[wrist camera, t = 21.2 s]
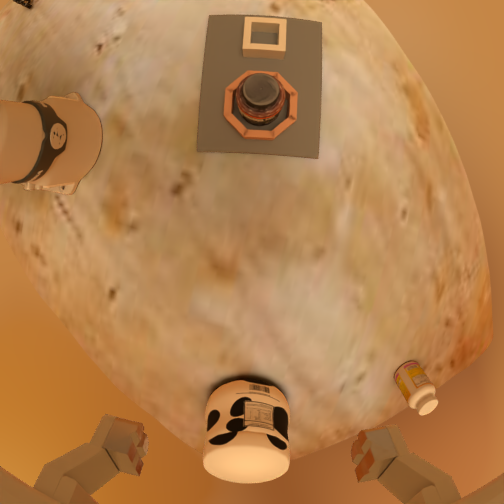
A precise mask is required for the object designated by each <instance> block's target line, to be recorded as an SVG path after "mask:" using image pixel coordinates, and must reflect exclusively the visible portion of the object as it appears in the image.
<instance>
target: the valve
mask: <svg viewBox="0 0 504 504" xmlns="http://www.w3.org/2000/svg"><path fill="white" fill-rule="evenodd" d="M13 1H14V2H16V3H18V4H20V5H22V6H25V7H26V8H29V9H30V8H31V7H32V5H29V3H30V1H31V0H13ZM27 1H28V3H27Z"/></svg>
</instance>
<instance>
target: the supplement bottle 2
mask: <svg viewBox="0 0 504 504" xmlns="http://www.w3.org/2000/svg"><path fill="white" fill-rule="evenodd" d="M394 378H395V381H396V383H397V385H398V387H399V388H400V390H401V392H402V394H403V396H404V397H405V399H406V401H407V403H408V404H409V406H410V407H411V408H414V409H417V411H418V413H419V414H420V415H426V414H428V413H430V412H431V411H432V410H433V409H435V407H436V406H437V404H438V400H437V398H436V397H435V396H434V395H435V387H434V385H433V384H432V383H431V381H430V380H429V378H428V377H427V375H426V374H425V373H424V371H423V370H422V368H421V367H420V366H419V364H418V363H417V362H414V361H410V362H407V363H405V364H403V365H402V366H401V367H400V368H399V369H398V370H397V371H396V373H395V377H394Z"/></svg>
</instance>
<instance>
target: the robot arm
mask: <svg viewBox="0 0 504 504" xmlns="http://www.w3.org/2000/svg"><path fill="white" fill-rule="evenodd" d="M101 143H102V128H101V123H100V120H99V118H98V116H97V114H96V113H95V111H94V110H93V109H92V108H90V107H89V106H87V105H86V104H85V103H84V102H83V101H82V98H81V97H80V95H79V94H78V93H76V92H72V93H70V94H68V95H66V96H64V97H56V96H49V97H48V98H47V99H45V100H43V101H41V102H40V101H24V102H21V103H20V102H13V101H6V100H0V184H4V183H8V182H12V183H20V184H22V185H24V190H34V189H36V190H41V189H43V190H47V191H52V192H56V193H61V194H66V195H71V194H73V193H74V191H75V190H76V188H77V185H78V183H79V181H80V180H81V179H82V178H83V177H84V176H85V175H86V174H87V173H88V172H89V171H90V170H91V168H92V167H93V165H94V164H95V162H96V160H97V157H98V155H99V152H100V148H101ZM64 186H65V189H64ZM143 430H144V426H143V424H142V423H139V422H135V421H130V420H126V419H122V418H119V417H115V416H111V415H108V414H105V415H104V416H103V417H102V419H101V421H100V423H99V425H98V427H97V429H96V431H95V433H94V436H93V437H92V439H91V441H90V443H85V444H83V445H81V446H79V447H77V448H76V449H74V450H72V451H70V452H68V453H67V454H65V455H63V456H61V457H59V458H57V459H55V460H53V461H51V462H49V463H47V464H45V465H44V467H43V469H42V471H41V473H40V475H39V477H38V479H37V481H36V483H35V485H34V487H31V486H29V485H27V484H26V483H24V482H23V481H21V480H20V479H18V478H17V477H15V476H14V475H12V474H11V473H9V472H8V471H6V470H5V469H3V468H2V467H1V466H0V504H98V502H96V501H95V500H94V499H93V498H92V497H91V496H90V495H91V494H93V493H94V492H95V491H97V490H98V489H99V488H100V487H102V486H103V485H104V484H106V483H107V482H108V481H110V480H111V479H112V478H113V477H115V476H116V475H117V474H118V473H119V471H120V472H124V473H128V474H132V475H136V476H140V473H141V470H142V467H143V462H142V460H141V458H142V457H144V456H145V455H146V454H147V451H148V443H149V442H148V437H147V434H145V433H144V432H143ZM357 436H358V439H357V440H356V441H354V443H353V445H352V448H351V457H352V461H353V462H354V463H355V464H356V465H357V467H356V469H355V472H356V476H357V479H358V483H359V482H365V481H370V480H375V479H378V481H379V482H380V483H381V484H383V486H384V487H385V488H387V489H388V490H389V491H390V492H391V493H392V494H393V495H394V496H395V497H397V498H398V499H399V500H400V501H401V502H402V503H404V504H504V473H503V474H501V475H500V476H498V477H497V478H495V479H494V480H492V481H491V482H489V483H487V484H486V485H484V486H483V487H481V488H479V489H477V490H476V491H474V492H472V493H471V494H469V495H467V496H465V497H463V498H461V497H460V494H459V492H458V490H457V488H456V486H455V483H454V481H453V479H452V477H451V476H450V475H448V474H447V473H445V472H443V471H441V470H440V469H438V468H437V467H435V466H433V465H432V464H430V463H429V462H427V461H425V460H424V459H422V458H421V457H419V456H418V455H416V454H415V453H410V452H409V450H408V448H407V445H406V443H405V441H404V438H403V436H402V434H401V432H400V430H399V427H398V426H397V425H396V424H394V425H389V426H382V427H377V428H372V429H366V430H361V431H360V432H359V433H358V435H357Z"/></svg>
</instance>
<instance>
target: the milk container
mask: <svg viewBox="0 0 504 504" xmlns="http://www.w3.org/2000/svg"><path fill="white" fill-rule="evenodd" d="M205 420H206V425H207V434H206V438H205V444H204V450H203V463H204V467H205V469H206V470H207V471H208V472H209V473H210V474H212V475H214V476H216V477H218V478H220V479H223V480H227V481H230V482H238V483H260V482H265V481H269V480H273V479H275V478H277V477H280V476H282V475H283V474H284V473H285V472H286V471H287V470H288V467H289V463H290V451H289V441H288V434H287V430H288V425H289V421H290V410H289V405H288V403H287V400H286V398H285V396H284V395H283V393H282V392H281V391H279V390H278V389H277V388H276V387H275V386H273V385H271V384H268V383H266V382H263V381H258V380H250V379H245V380H235V381H231V382H229V383H226V384H223V385H222V386H220V387H219V388H217V389H216V390H215V391H214V392H213V393H212V395H211V396H210V398H209V400H208V403H207V405H206V410H205Z"/></svg>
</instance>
